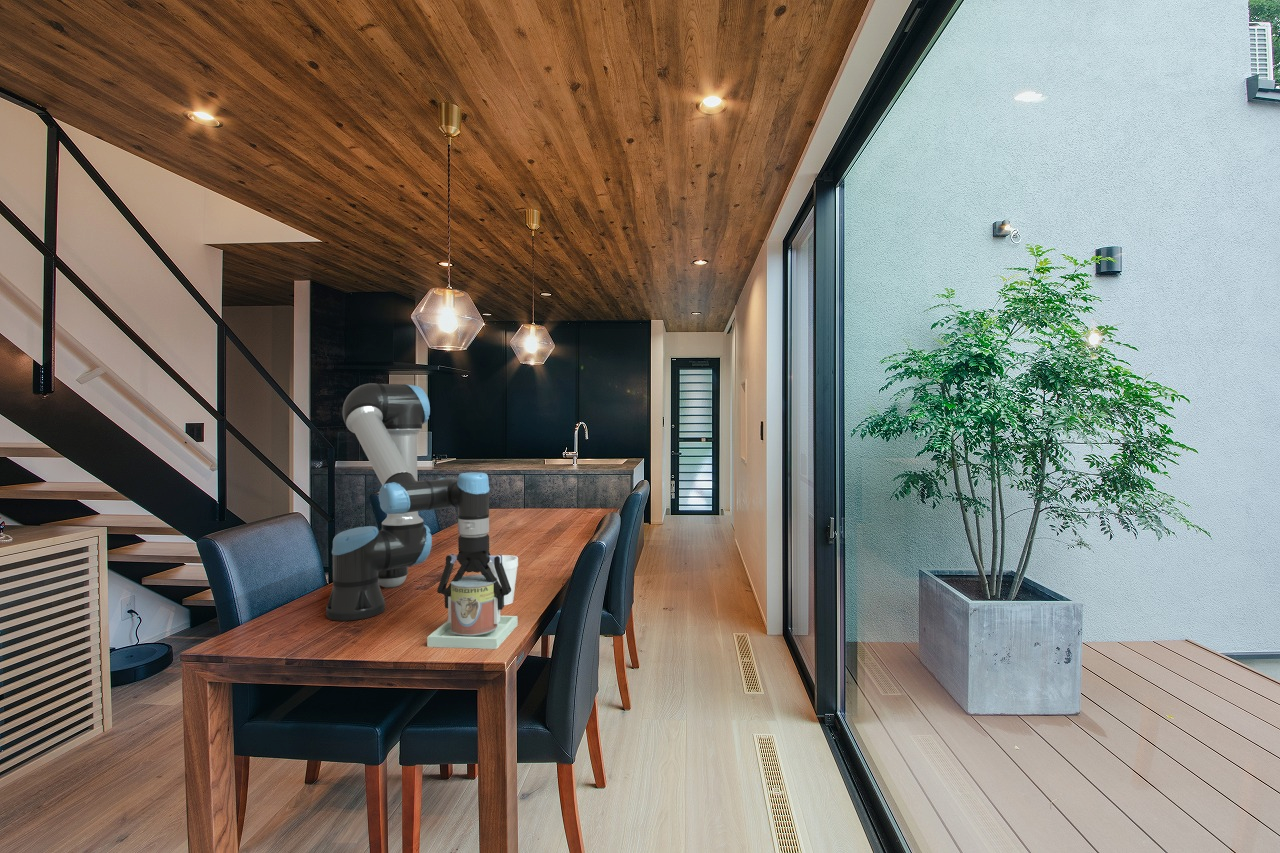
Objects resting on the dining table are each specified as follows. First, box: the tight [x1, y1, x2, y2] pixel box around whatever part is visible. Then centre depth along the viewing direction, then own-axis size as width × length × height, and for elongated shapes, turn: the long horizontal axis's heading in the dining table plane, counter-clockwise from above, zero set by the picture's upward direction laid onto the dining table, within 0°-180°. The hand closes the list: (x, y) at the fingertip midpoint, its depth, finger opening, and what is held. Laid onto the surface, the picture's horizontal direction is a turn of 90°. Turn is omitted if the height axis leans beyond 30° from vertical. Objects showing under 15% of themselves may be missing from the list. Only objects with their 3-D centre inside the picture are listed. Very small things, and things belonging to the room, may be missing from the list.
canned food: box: [450, 574, 497, 636], centre depth 155 cm, size 11×11×12 cm
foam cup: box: [488, 554, 519, 606], centre depth 183 cm, size 10×9×13 cm
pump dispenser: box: [378, 567, 409, 589], centre depth 202 cm, size 10×10×15 cm
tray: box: [426, 615, 519, 650], centre depth 155 cm, size 17×17×2 cm
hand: (474, 621), depth 155 cm, fingers closed on canned food, 11 cm apart
